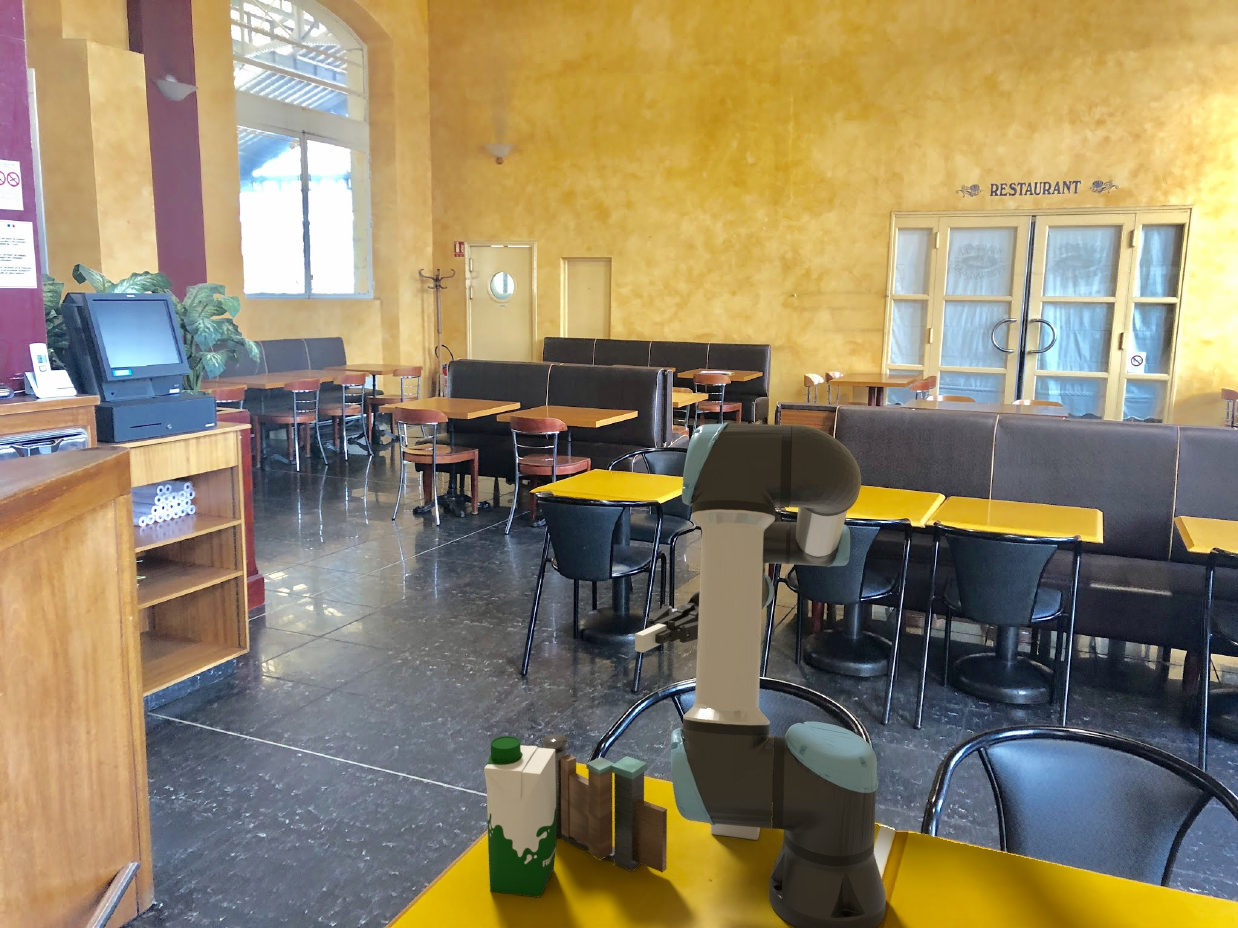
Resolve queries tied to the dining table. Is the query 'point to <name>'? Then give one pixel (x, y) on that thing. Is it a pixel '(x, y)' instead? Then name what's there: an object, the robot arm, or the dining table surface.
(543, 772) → the milk carton
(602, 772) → the gate
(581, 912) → the dining table surface
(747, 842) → the dining table surface
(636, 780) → the gate posts
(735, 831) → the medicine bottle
